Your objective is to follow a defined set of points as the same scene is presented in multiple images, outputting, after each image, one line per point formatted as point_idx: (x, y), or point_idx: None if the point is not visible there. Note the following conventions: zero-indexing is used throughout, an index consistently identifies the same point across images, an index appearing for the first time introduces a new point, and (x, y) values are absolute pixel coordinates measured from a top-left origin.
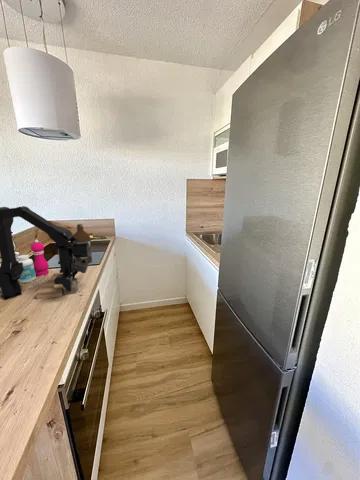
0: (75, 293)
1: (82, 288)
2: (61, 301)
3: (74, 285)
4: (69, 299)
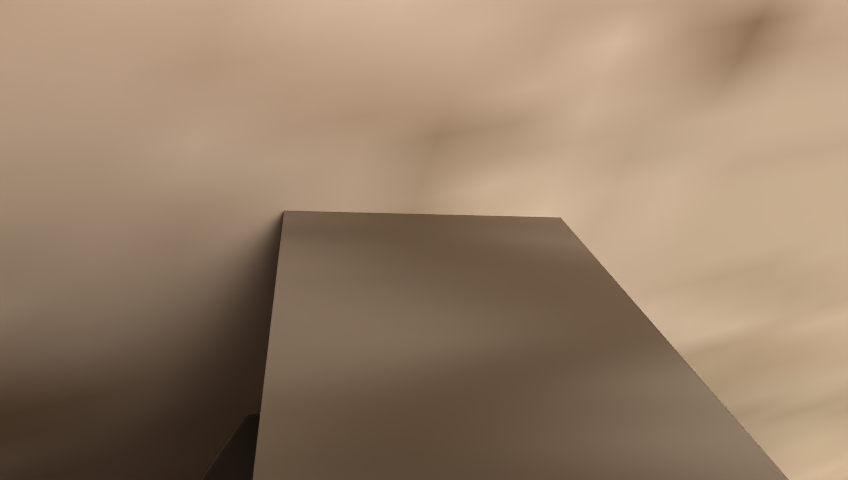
0: (560, 235)
1: (215, 75)
2: (782, 419)
3: (735, 447)
4: (795, 300)
